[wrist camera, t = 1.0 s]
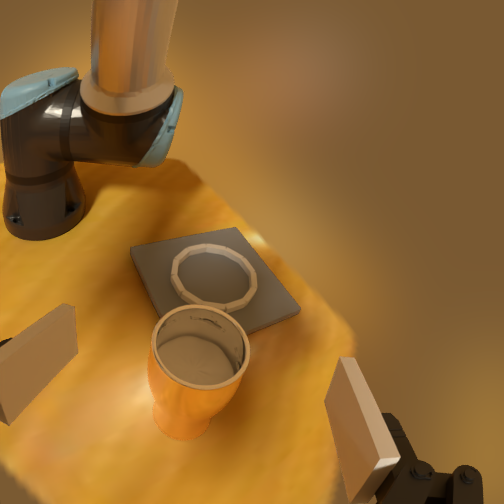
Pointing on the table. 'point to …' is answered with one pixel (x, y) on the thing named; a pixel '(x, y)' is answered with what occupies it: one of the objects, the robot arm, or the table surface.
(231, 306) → the coaster board
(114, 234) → the table surface
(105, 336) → the table surface
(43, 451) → the table surface
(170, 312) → the beer glass
